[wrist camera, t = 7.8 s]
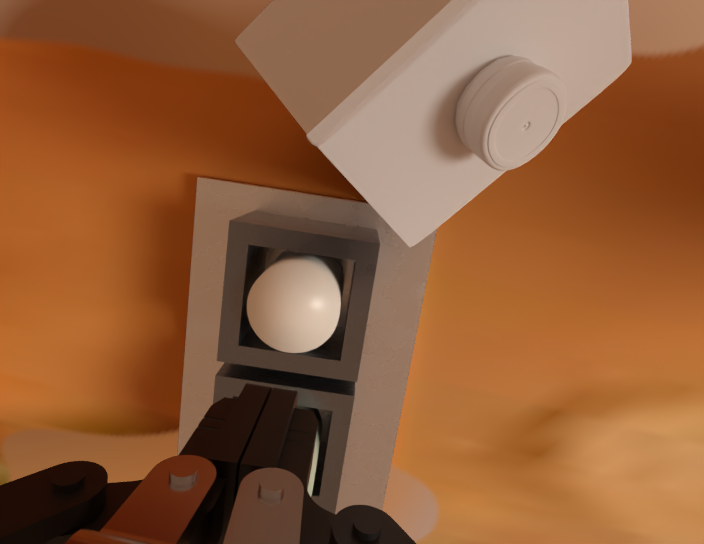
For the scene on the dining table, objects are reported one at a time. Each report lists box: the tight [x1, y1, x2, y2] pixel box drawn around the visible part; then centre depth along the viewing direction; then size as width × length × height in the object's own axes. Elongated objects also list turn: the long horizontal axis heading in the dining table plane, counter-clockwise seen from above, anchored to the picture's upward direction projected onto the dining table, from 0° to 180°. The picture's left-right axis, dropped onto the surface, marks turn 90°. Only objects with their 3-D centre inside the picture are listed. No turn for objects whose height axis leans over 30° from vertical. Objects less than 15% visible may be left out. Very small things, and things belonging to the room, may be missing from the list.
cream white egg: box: [247, 250, 344, 353], centre depth 24 cm, size 4×4×5 cm
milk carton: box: [235, 0, 632, 247], centre depth 17 cm, size 7×7×19 cm
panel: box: [177, 177, 437, 514], centre depth 27 cm, size 14×26×6 cm, turn 172°
